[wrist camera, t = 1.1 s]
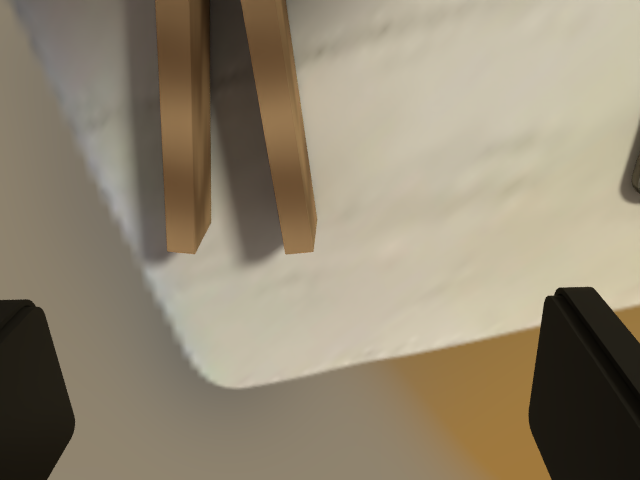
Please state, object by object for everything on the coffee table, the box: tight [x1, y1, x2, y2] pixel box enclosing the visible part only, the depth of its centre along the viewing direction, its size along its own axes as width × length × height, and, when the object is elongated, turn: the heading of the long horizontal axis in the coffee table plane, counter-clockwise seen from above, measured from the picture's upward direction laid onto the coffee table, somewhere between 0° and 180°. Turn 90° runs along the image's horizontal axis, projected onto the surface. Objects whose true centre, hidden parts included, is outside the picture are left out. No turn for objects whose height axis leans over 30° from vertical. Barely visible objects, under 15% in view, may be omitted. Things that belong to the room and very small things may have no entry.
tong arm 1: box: [155, 0, 211, 254], centre depth 28 cm, size 20×2×4 cm, turn 175°
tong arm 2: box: [241, 0, 317, 254], centre depth 27 cm, size 20×2×4 cm, turn 7°
